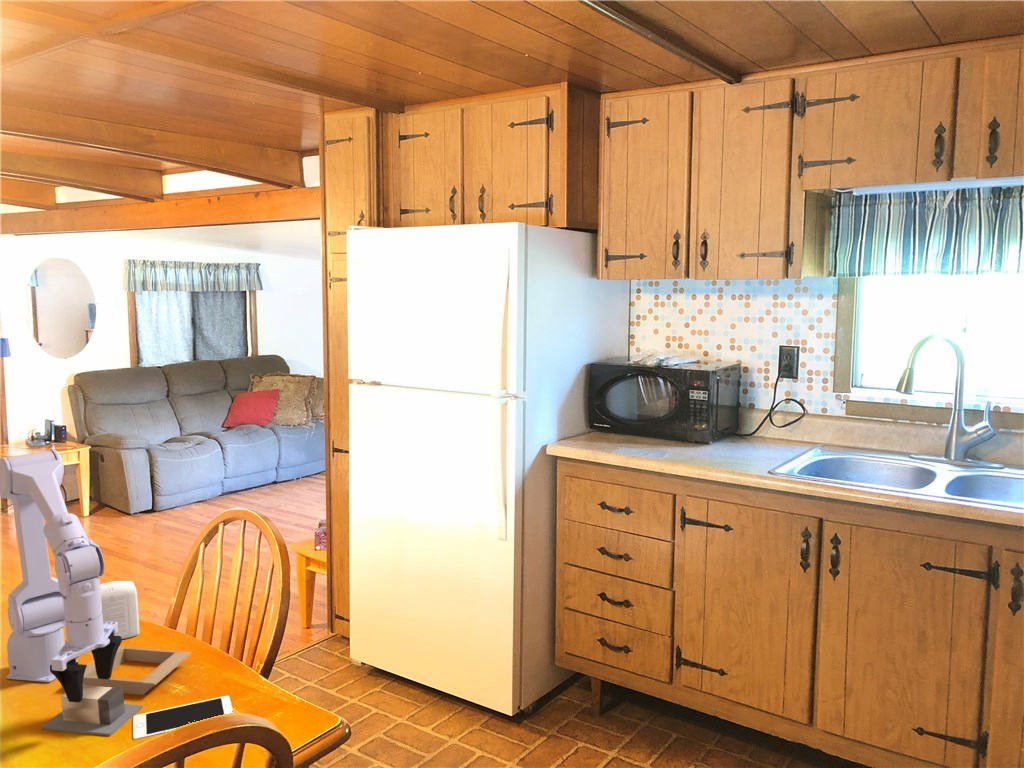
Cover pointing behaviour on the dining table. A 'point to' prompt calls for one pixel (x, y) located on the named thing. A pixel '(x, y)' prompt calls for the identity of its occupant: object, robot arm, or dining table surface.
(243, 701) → the dining table surface
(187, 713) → the cell phone
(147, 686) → the tan rectangular frame
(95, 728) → the mat
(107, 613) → the photo printer
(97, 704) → the box
